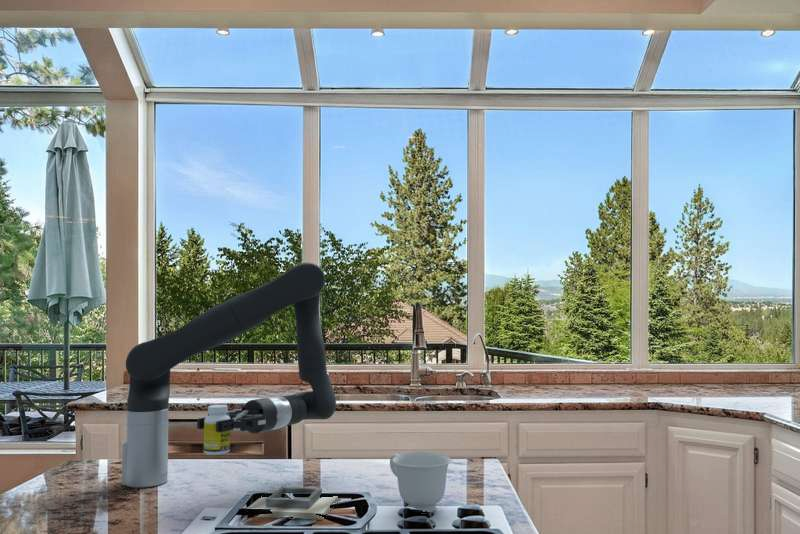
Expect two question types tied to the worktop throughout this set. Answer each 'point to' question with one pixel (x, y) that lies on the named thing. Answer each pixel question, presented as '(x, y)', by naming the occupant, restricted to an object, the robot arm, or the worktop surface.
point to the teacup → (421, 478)
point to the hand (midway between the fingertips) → (207, 425)
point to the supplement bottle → (215, 440)
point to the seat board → (296, 503)
